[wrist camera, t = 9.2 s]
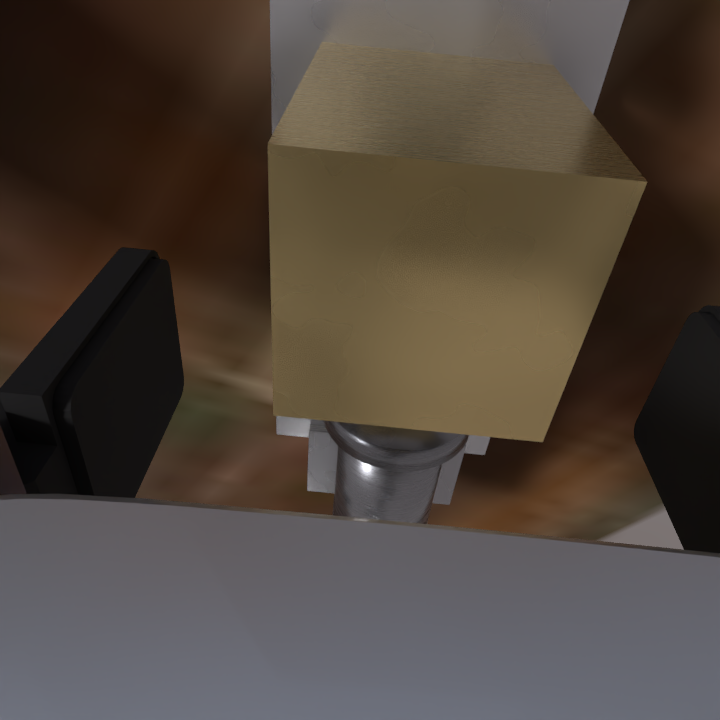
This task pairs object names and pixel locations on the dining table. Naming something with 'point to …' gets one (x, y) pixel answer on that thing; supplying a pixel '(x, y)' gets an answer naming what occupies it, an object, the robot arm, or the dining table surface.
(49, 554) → the robot arm
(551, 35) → the shaft bench
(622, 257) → the dining table surface
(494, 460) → the dining table surface
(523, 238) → the tan wooden cube
